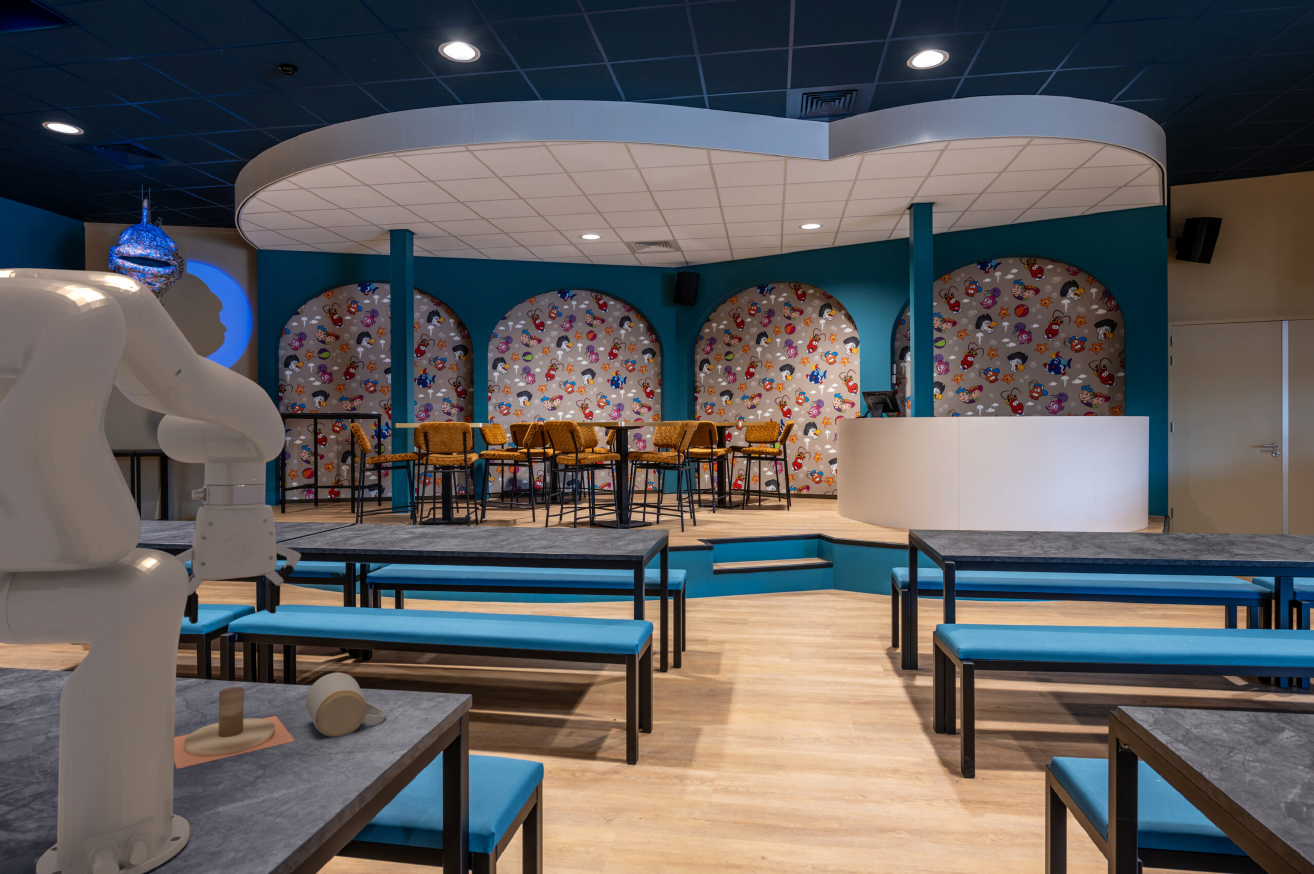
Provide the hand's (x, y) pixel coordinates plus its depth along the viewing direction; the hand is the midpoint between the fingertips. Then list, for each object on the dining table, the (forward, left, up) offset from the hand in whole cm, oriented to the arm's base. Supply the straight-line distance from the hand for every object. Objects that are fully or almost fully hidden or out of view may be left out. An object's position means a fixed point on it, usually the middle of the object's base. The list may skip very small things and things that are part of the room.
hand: (233, 616), depth 101 cm
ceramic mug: (-4, -14, -18) cm, 24 cm away
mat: (0, 0, -18) cm, 18 cm away
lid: (0, 0, -18) cm, 17 cm away
